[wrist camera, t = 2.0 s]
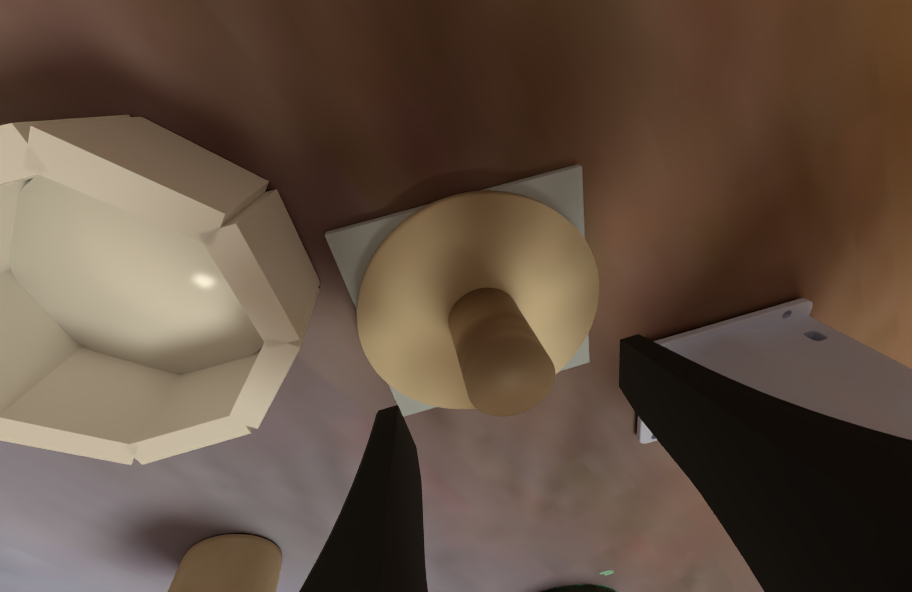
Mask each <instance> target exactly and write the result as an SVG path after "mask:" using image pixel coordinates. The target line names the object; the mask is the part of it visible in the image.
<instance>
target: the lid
mask: <svg viewBox="0 0 912 592" xmlns="http://www.w3.org/2000/svg"><path fill="white" fill-rule="evenodd" d="M598 300H599V276H598V270H597V266H596V262H595V259H594V256H593V254H592V251H591V249H590V247H589V245H588V244H587V242H586V240H585V239H584V237H583V236H582V234H581V233H580V232H579V231H578V230H577V229H576V228H575V227H574V225H573V224H572V223H570V222H569V221H568V220H567V219H566V218H564V217H563V216H562V215H561V214H559V213H558V212H556V211H555V210H553V209H552V208H550V207H548V206H546V205H545V204H543V203H541V202H539V201H537V200H535V199H532V198H530V197H527V196H524V195H521V194H516V193H512V192H507V191H494V190H482V191H470V192H465V193H460V194H455V195H451V196H448V197H445V198H443V199H440V200H437V201H435V202H433V203H431V204H428V205H426V206H424V207H422V208H420V209H419V210H418V211H416V212H415V213H413V214H412V215H410V216H409V217H407V218H406V219H404V220H403V221H402V222H401V223H400V224H399V225H398V226H396V227H395V228H394V229H393V230H392V231H391V232H390V233H389V234H388V235H387V237H386V238H385V239H384V240H383V241H382V242H381V243H380V245H379V247H378V248H377V250H376V251H375V253H374V254H373V256H372V257H371V259H370V261H369V264H368V266H367V268H366V270H365V272H364V276H363V279H362V282H361V286H360V292H359V299H358V306H357V327H358V333H359V338H360V342H361V345H362V347H363V350H364V353H365V355H366V357H367V358H368V360H369V362H370V364H371V365H372V367H373V368H374V369H375V371H376V372H377V373H378V374H379V376H380V377H382V378H383V379H384V380H385V381H386V382H387V383H388V384H389V385H390V386H392V387H393V388H394V389H396V390H397V391H398V392H400V393H402V394H404V395H406V396H407V397H409V398H411V399H414V400H416V401H419V402H421V403H424V404H428V405H432V406H436V407H442V408H450V409H475V408H476V409H478V410H479V411H481V412H483V413H485V414H488V415H492V416H511V415H516V414H519V413H522V412H525V411H527V410H529V409H531V408H532V407H534V406H535V405H537V404H538V403H539V402H541V401H542V400H543V399H544V398H545V397H546V395H547V394H548V393H549V391H550V390H551V388H552V386H553V384H554V380H555V374H556V373H558V372H559V371H560V370H561V369H562V368H563V367H564V366H565V365H566V364H567V363H568V362H569V361H570V360H571V359H572V357H573V356H574V355H575V353H576V352H577V351H578V350H579V348H580V347H581V345H582V343H583V342H584V340H585V339H586V337H587V335H588V333H589V330H590V328H591V326H592V323H593V321H594V318H595V315H596V311H597V306H598Z"/></svg>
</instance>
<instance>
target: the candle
mask: <svg viewBox="0 0 912 592" xmlns="http://www.w3.org/2000/svg"><path fill="white" fill-rule="evenodd" d="M281 563H282V553H281V551H280V549H279V548H278V547H277V546H276V545H275V544H274V543H272V542H271V541H269V540H267V539H264V538H261V537H258V536H253V535H246V534H227V535H220V536H215V537H211V538H208V539H205V540H203V541H200V542H199V543H197V544H195V545H194V546H192V547H191V548H190V549H189V550H188V551H187V553H186V554H185V556H184V557H183V559H182V561H181V563H180V566H179V568H178V570H177V572H176V574H175V576H174V579H173V581H172V583H171V586H170V588H169V590H168V592H276V588H277V584H278V579H279V574H280V569H281Z"/></svg>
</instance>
